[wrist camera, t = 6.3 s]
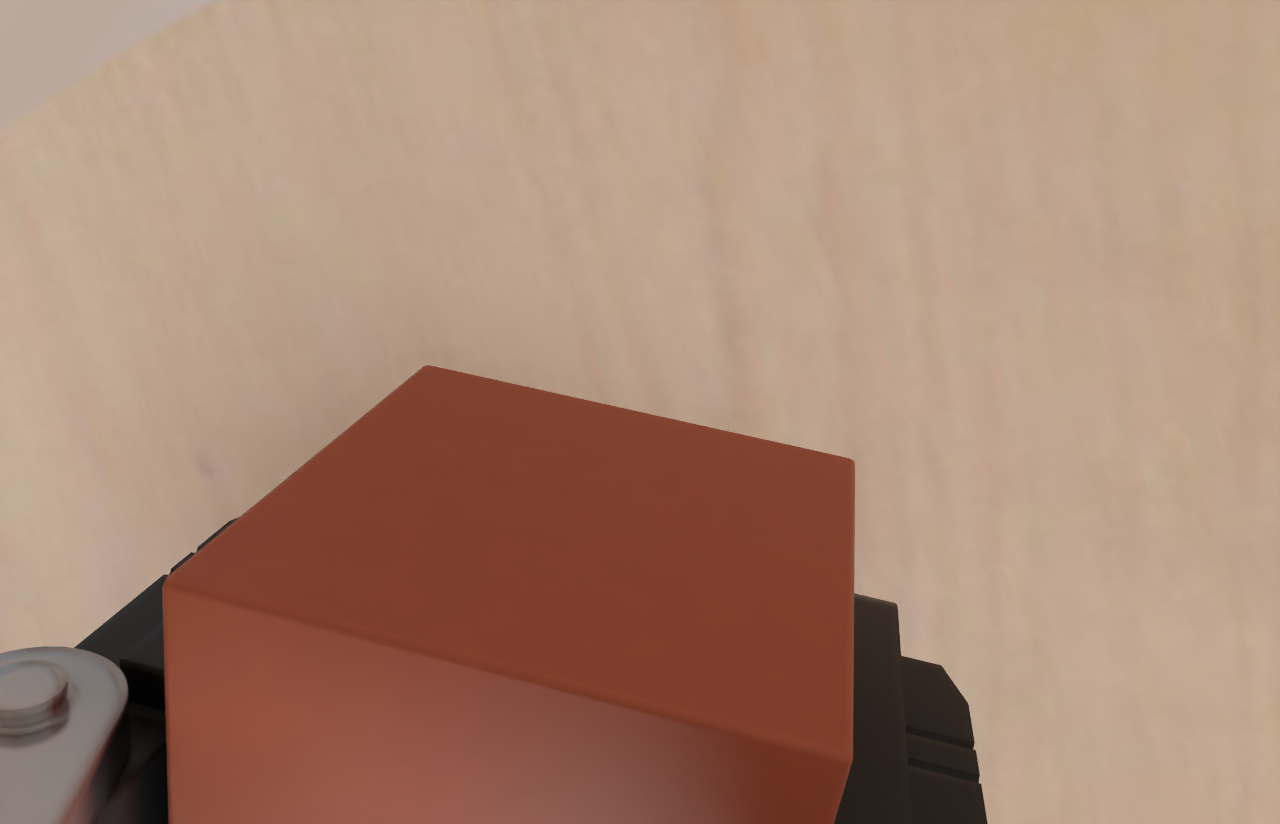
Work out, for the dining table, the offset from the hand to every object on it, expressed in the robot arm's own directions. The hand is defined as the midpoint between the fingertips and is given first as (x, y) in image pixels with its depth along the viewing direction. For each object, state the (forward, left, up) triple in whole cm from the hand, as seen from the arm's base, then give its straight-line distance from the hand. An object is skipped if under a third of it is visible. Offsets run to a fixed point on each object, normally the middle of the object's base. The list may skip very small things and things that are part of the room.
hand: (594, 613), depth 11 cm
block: (0, 0, 0) cm, 0 cm away
